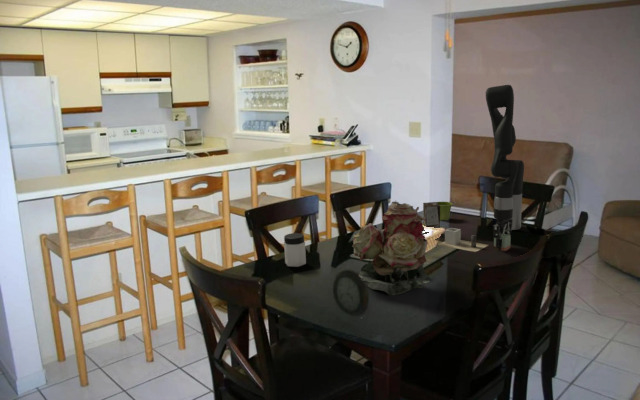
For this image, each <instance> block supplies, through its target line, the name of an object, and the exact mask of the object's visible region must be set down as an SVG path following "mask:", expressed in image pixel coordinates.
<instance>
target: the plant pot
mask: <svg viewBox="0 0 640 400" xmlns="http://www.w3.org/2000/svg"><path fill="white" fill-rule="evenodd" d="M436 202H437V203H438V204H439V205H440V222H441V221H449V220H450V213H451V208H452V205H453V202H450V201H436Z"/></svg>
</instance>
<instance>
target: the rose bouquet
mask: <svg viewBox="0 0 640 400" xmlns="http://www.w3.org/2000/svg"><path fill="white" fill-rule="evenodd" d="M419 210H420V206H417V207H416V208H414V206H413V205H410V204H408V203H399V202H398V201H397V200H395V201H391V203H390V205H388V208H387V210H386V212H384V214H382V222H383V224H384V228H383V229H380V228H377V227H375V226H374V225H373V223H370V222H369V223H368V224H367V225H363V226H361V227H360V228H359V231H358V233H357V234H354V235H352V238H353V239H352V242H353V244H352V246H351V247H352V248H353V253H354V256H356V257H359V259H358V260H359V261H363V260H369V261H368V263H365V264H364V265H362V267H361V268H360V272H359V274H358V277H359V278H360V280H362V281H364V282H367V283H368V284H367V287H368V288H370V289H372V290H377V291H378V290H379V291H382V292H385V293H387V295H388V296H399V295H401V294H405V293H407V292H409V291H411V290H415V289H421V288H422V289H423V288H424V286H420V285H422V283H423V284H424V283H425V284H427V283H430V282H431V280H429V279H430V277H429V275H428V274H427V273H426V272H425V270H424V265H425V264H426V263H427V258H426V251H427V248H428V247H427V246H428V242H429V241H428V240H427V238H426V237H425V235H424V234H427V233H429V232H425V233H423V231H425V230H424V227H423V220H425V221H426V219H425V217H423V215H420V214H418V211H419ZM421 282H422V283H421Z"/></svg>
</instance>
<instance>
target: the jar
mask: <svg viewBox="0 0 640 400" xmlns="http://www.w3.org/2000/svg"><path fill="white" fill-rule="evenodd" d="M283 239H284V242H283V245H284V246H283V248H284V264H286V266H287V267H292V268H293V267H294V268H299V267H303V266H304V265H307V258H306V257H307V254H306V253H307V252H306V242H305V235H304V234H303V233H301V232H300V233H299V232H294V233H287V234H284V237H283Z"/></svg>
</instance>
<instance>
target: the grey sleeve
mask: <svg viewBox="0 0 640 400" xmlns="http://www.w3.org/2000/svg"><path fill="white" fill-rule="evenodd" d="M461 240H462V229H461V228H457V227H456V228H454V227H449V228H447V229H445V230H444V241H445V243H446V244H451V245H456V244H459V243H461Z"/></svg>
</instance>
